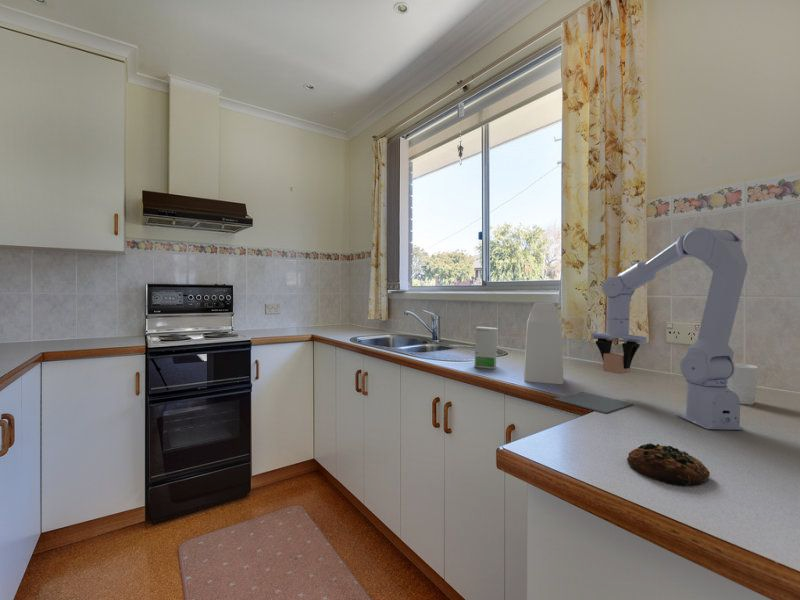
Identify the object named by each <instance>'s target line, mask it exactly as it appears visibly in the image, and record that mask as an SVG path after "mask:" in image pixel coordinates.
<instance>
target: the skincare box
mask: <svg viewBox="0 0 800 600" xmlns="http://www.w3.org/2000/svg"><path fill="white" fill-rule="evenodd" d="M498 329H499V328H498V327H491V326H490V327H487V326H476V327H475V347H474V365H473V366H474V368H480V369H493V370H496V367H497V354H498V353H497V351H498V349H497V348H498V334H499V333H498Z"/></svg>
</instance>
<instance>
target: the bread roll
mask: <svg viewBox="0 0 800 600" xmlns="http://www.w3.org/2000/svg"><path fill="white" fill-rule="evenodd" d="M626 460H627V464H628V465H629V466H630V468H633V469H634V470H635V471H636V472H638V473H640V474H641V475H644V476H645V477H647V478H650V479H651V480H654V481H658V482H660V483H664V484H667V485H671V486H678V487H680V486H681V487H687V486H689V487H693V486H698V485H702V484H703V482H708V481H709V477H710V476H711V474H710V473H711V472H710V471H709V469H708V467H706V466H705V464H703V462H702V461H700V460H699V459H698V458H696V457H694V456H692V455H690V454H689V452H686V451H683V450H680V449H678V448H676V447H674V446H672V445H661V444H659V443H657V444H656V445H655V444H654V443H651V442H650V443H646V444H645V443H644V444H642V445H640V446H638V447H636V448H634V449H632V450H630V452H628V455H627V458H626Z"/></svg>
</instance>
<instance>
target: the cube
mask: <svg viewBox="0 0 800 600" xmlns="http://www.w3.org/2000/svg"><path fill="white" fill-rule="evenodd" d="M602 363H603V365H602V371H603V372H606V373H607V372H608V373H613V374H617V375H624V374H628V373H630V372H631V367H630V368H628V369H625V368H624V353H619V352H611V351H610V353H605V354H604V356H603V359H602Z"/></svg>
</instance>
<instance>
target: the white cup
mask: <svg viewBox="0 0 800 600" xmlns="http://www.w3.org/2000/svg"><path fill="white" fill-rule="evenodd" d="M734 366H735V372H734V374H733V376H732V377H730V378H729V379H728V384H727V387H728V388H729V389H730V390H731V391H733V392H735V393H736V394H737V395H738V397H739V399H740V405H754V404H755V401H756V400H755V399H756V393H757V386H758V377H759V376H758V375H759V374H758V373H759V367H758V366H757V365H753V364H748V363H747V364H746V363H738V362H734Z"/></svg>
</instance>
